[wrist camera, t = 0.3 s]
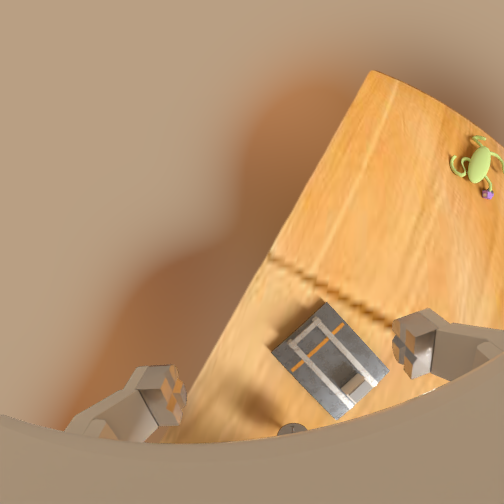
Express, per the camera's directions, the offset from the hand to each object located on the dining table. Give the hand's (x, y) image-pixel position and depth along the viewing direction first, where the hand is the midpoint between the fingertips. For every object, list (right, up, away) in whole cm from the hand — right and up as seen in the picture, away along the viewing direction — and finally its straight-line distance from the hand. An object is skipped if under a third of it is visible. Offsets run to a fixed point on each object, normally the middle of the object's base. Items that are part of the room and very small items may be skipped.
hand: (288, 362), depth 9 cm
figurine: (+72, +31, +55) cm, 96 cm away
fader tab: (+21, -25, +44) cm, 54 cm away
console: (+16, -20, +48) cm, 54 cm away
